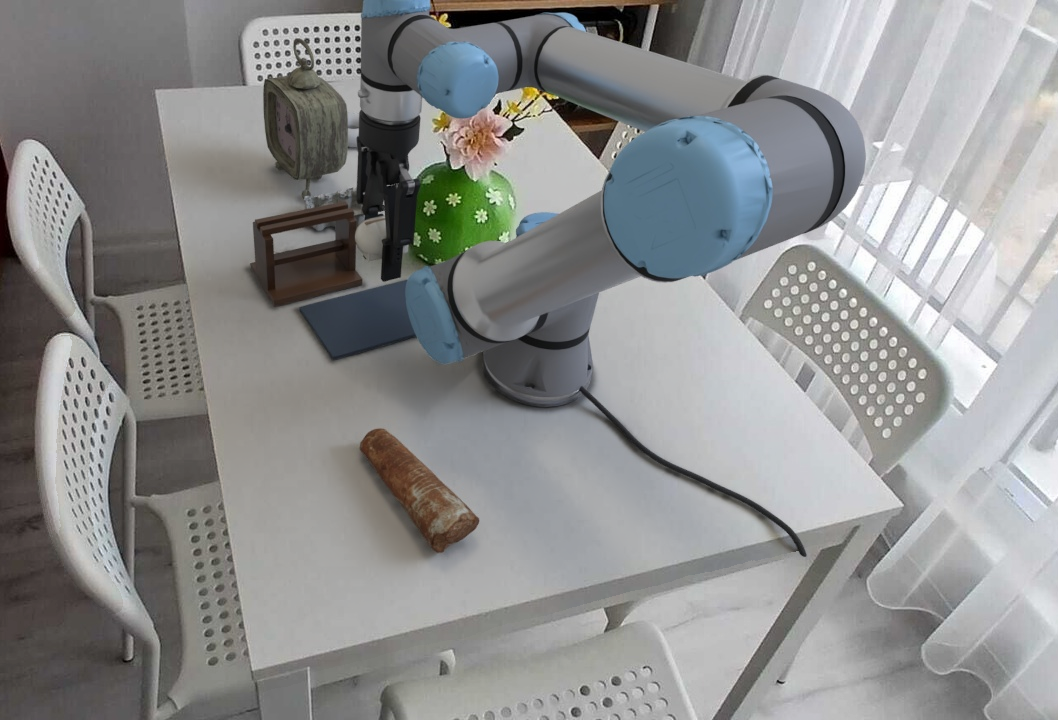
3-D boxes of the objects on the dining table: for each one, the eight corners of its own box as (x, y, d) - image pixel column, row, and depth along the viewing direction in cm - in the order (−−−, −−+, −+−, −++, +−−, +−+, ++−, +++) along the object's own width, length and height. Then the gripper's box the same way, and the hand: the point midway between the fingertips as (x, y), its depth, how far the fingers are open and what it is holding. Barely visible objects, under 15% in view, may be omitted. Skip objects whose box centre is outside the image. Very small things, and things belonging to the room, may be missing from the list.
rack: (362, 285, 136) (364, 223, 128) (274, 307, 129) (271, 243, 122) (335, 249, 142) (335, 189, 134) (250, 269, 136) (246, 206, 128)
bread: (434, 566, 98) (438, 534, 95) (351, 453, 110) (352, 421, 106) (481, 543, 101) (486, 511, 98) (395, 435, 113) (397, 404, 109)
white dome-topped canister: (416, 253, 123) (419, 222, 119) (363, 266, 119) (365, 234, 116) (400, 234, 126) (402, 203, 123) (348, 246, 122) (349, 214, 119)
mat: (459, 324, 131) (459, 321, 130) (333, 360, 122) (333, 357, 122) (421, 279, 138) (421, 275, 138) (299, 310, 129) (299, 306, 129)
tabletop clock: (266, 166, 159) (259, 27, 142) (312, 157, 163) (311, 20, 146) (301, 207, 150) (298, 63, 134) (349, 196, 154) (352, 55, 138)
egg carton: (367, 206, 152) (368, 185, 150) (372, 231, 147) (373, 209, 144) (303, 207, 150) (303, 185, 147) (306, 232, 145) (306, 210, 142)
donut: (356, 156, 165) (388, 136, 171) (356, 139, 163) (389, 120, 169) (314, 138, 168) (347, 119, 175) (313, 121, 166) (347, 103, 173)
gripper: (331, 84, 113) (330, 238, 128) (395, 151, 102) (386, 310, 117) (385, 76, 116) (377, 227, 132) (453, 140, 105) (436, 297, 121)
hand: (381, 266), depth 124 cm, fingers closed on white dome-topped canister, 5 cm apart
